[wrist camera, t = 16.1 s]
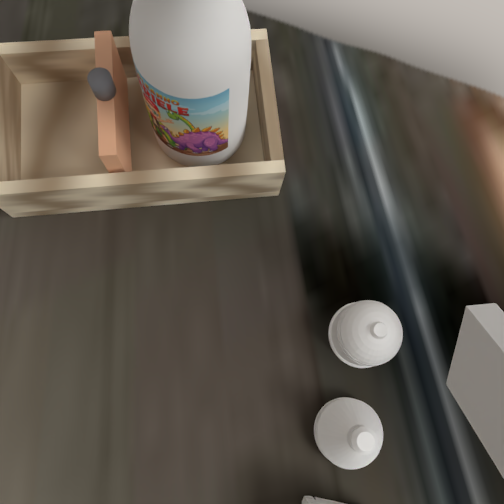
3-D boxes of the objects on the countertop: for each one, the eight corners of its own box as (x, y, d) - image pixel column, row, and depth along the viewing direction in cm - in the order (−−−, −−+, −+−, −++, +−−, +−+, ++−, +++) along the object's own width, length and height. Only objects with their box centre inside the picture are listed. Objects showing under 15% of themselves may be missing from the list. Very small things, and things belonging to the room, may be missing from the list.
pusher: (129, 78, 41) (108, 14, 33) (135, 186, 38) (114, 143, 31) (110, 79, 40) (85, 15, 33) (115, 188, 38) (89, 145, 31)
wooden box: (261, 66, 43) (268, 10, 36) (278, 195, 40) (289, 160, 33) (14, 81, 41) (-28, 25, 34) (13, 217, 38) (-33, 185, 32)
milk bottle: (190, 73, 41) (160, -186, 22) (262, 120, 41) (297, -105, 21) (136, 138, 40) (51, -81, 20) (211, 188, 39) (197, 10, 20)
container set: (358, 581, 34) (384, 621, 28) (287, 566, 34) (299, 603, 28) (395, 310, 39) (422, 301, 33) (333, 296, 39) (350, 285, 33)
